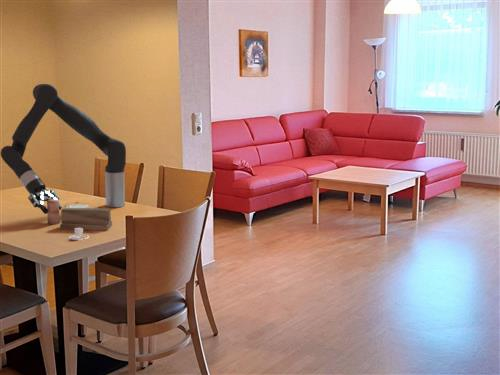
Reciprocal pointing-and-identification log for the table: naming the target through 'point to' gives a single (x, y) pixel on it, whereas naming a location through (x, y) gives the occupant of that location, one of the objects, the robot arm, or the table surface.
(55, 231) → the table surface
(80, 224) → the ridge
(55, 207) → the pink domed cylinder
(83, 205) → the baseboard molding
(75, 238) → the teacup and saucer
